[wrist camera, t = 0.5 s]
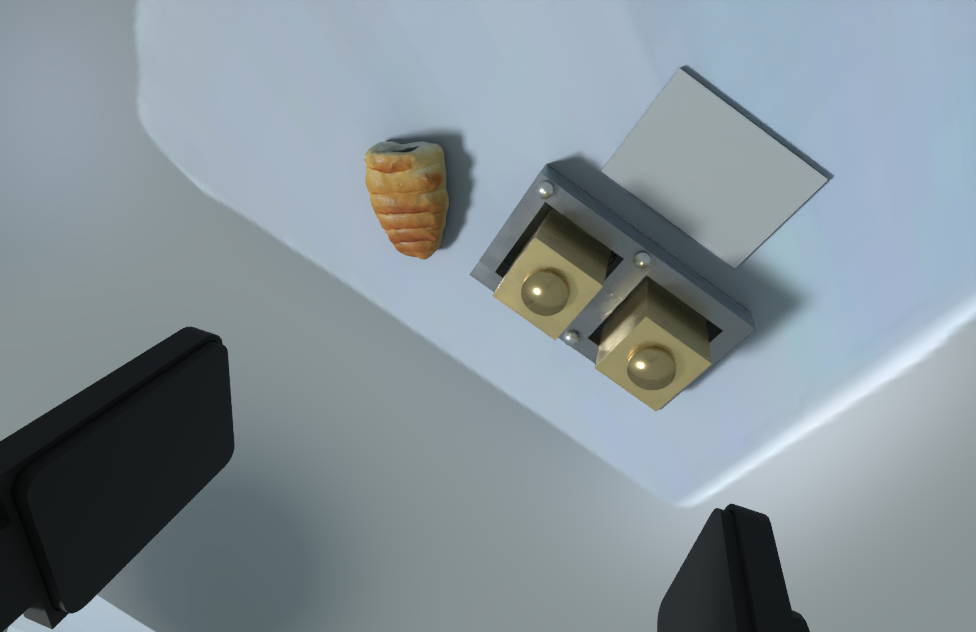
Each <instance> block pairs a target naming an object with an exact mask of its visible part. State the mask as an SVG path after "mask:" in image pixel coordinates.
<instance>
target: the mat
mask: <svg viewBox="0 0 976 632" xmlns="http://www.w3.org/2000/svg"><path fill="white" fill-rule="evenodd" d="M601 171H602V172H603V173H604V174H606V175H607V176H608V177H610V178H611V179H612V180H614V181H615V182H617V183H618V184H619V185H621V186H622V187H623V188H625V189H626V190H627V191H629V192H630V193H632V194H633V195H634V196H636V197H637V198H638V199H640V200H641V201H643V202H644V203H645V204H647V205H648V206H649V207H651V208H652V209H653V210H655V211H656V212H658V213H659V214H660V215H662V216H663V217H664V218H666V219H667V220H669V221H670V222H671V223H673V224H674V225H675V226H677V227H678V228H679V229H681V230H682V231H684V232H685V233H686V234H688V235H689V236H690V237H692V238H693V239H694V240H696V241H697V242H699V243H700V244H701V245H703V246H704V247H705V248H707V249H708V250H710V251H711V252H712V253H714V254H715V255H716V256H718V257H719V258H720V259H722V260H723V261H725V262H726V263H727V264H729V265H730V266H731V267H733V268H734V269H735V268H736V267H737V266H738V265H739V264H740V263H741V262H742V261H744V260H745V259H746V258H747V257H748V256H749V255H750V254H751V253H752V252H753V251H754V250H755V249H756V248H757V247H758V246H759V245H760V244H761V243H762V242H763V241H764V240H766V239H767V238H768V237H769V236H770V235H771V234H772V233H773V232H774V231H775V230H776V229H777V228H778V227H779V226H780V225H781V224H782V223H783V222H784V221H785V220H786V219H788V218H789V217H790V216H791V215H792V214H793V213H794V212H795V211H796V210H797V209H798V208H799V207H800V206H801V205H802V204H803V203H804V202H805V201H806V200H807V199H809V198H810V197H811V196H812V195H813V194H814V193H815V192H816V191H817V190H818V189H819V188H820V187H821V186H822V185H823V184H824V183H825V182H826V181H827V180H828V179H827V178H826V177H824V176H823V175H822V174H820V173H819V172H818V171H816V170H815V169H814V168H812V167H811V166H810V165H808V164H807V163H806V162H804V161H803V160H802V159H800V158H799V157H798V156H796V155H795V154H794V153H792V152H791V151H790V150H788V149H787V148H786V147H784V146H783V145H782V144H780V143H779V142H778V141H776V140H775V139H774V138H772V137H771V136H770V135H768V134H767V133H766V132H764V131H763V130H762V129H760V128H759V127H758V126H756V125H755V124H754V123H752V122H751V121H750V120H748V119H747V118H746V117H745V116H743V115H742V114H741V113H739V112H738V111H737V110H735V109H734V108H733V107H731V106H730V105H729V104H727V103H726V102H725V101H723V100H722V99H721V98H719V97H718V96H717V95H715V94H714V93H713V92H711V91H710V90H709V89H707V88H706V87H705V86H703V85H702V84H701V83H699V82H698V81H697V80H695V79H694V78H693V77H691V76H690V75H689V74H687V73H686V72H685V71H683V70H682V69H681V68H679V69H678V70H677V72H676V73H675V74H674V75H673V77H672V78H671V79H670V81H669V82H668V83H667V85H666V86H665V87H664V89H663V90H662V91H661V93H660V94H659V95H658V97H657V98H656V99H655V100H654V102H653V103H652V104H651V106H650V107H649V108H648V110H647V111H646V112H645V114H644V115H643V116H642V118H641V119H640V120H639V122H638V123H637V124H636V125H635V127H634V128H633V129H632V131H631V132H630V133H629V135H628V136H627V137H626V139H625V140H624V141H623V143H622V144H621V145H620V147H619V148H618V149H617V150H616V152H615V153H614V154H613V156H612V157H611V158H610V160H609V161H608V162H607V164H606V165H605V166H604V168H603V169H602V170H601Z"/></svg>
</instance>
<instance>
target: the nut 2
mask: <svg viewBox="0 0 976 632" xmlns="http://www.w3.org/2000/svg"><path fill="white" fill-rule="evenodd" d="M711 364H712V361H711V353H710V346H709V338H708V330H707V323H706V318H705V317H704V316H702V315H701V314H700V313H698V312H697V311H695V310H694V309H693V308H691V307H690V306H688V305H687V304H686V303H684V302H683V301H682V300H680V299H679V298H677V297H676V296H675V295H673V294H672V293H670V292H669V291H668V290H666V289H665V288H664V287H662V286H661V285H659V284H658V283H657V282H655V281H654V280H652V279H651V278H650V277H648V276H647V277H646V278H645V279H644V280H643V281H642V282H641V283H640V284H639V285H638V286H637V287H636V288H635V289H634V290H633V292H632V293H631V294H630V295H629V296H628V297H627V298H626V299H625V300H624V301H623V302H622V303H621V304H620V305H619V307H618V308H617V309H616V310H615V311H614V312H613V313H612V314H611V315H610V316H609V317H608V318H607V319H606V320H605V321H604V325H603V330H602V335H601V340H600V345H599V350H598V355H597V359H596V364H595V369H597V370H598V371H600V372H601V373H602V374H604V375H605V376H607V377H608V378H609V379H611V380H612V381H614V382H615V383H616V384H618V385H619V386H621V387H622V388H624V389H625V390H626V391H628V392H629V393H631V394H632V395H633V396H635V397H636V398H638V399H639V400H640V401H642V402H643V403H645V404H646V405H648V406H649V407H650V408H652V409H653V410H655V411H658V410H659V409H660V408H661V407H662V406H663V405H665V404H666V403H667V402H668V401H669V400H670V399H672V398H673V397H674V396H675V395H676V394H677V393H679V392H680V391H681V390H682V389H683V388H684V387H686V386H687V385H688V384H689V383H690V382H691V381H693V380H694V379H695V378H696V377H697V376H699V375H700V374H701V373H702V372H703V371H704V370H706V369H707V368H708V367H709V366H710V365H711Z"/></svg>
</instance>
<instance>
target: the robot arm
mask: <svg viewBox="0 0 976 632" xmlns="http://www.w3.org/2000/svg"><path fill="white" fill-rule="evenodd" d="M233 452H234V433H233V420H232V405H231V391H230V377H229V363H228V351H227V348H226V347H225V346H224V345H223V344H222V340H221V338H220V337H219V336H218V335H215V334H212V333H209V332H206V331H203V330H199V329H197V328H194V327H186V328H183V329H181V330H179V331H178V332H177V333H175V334H173V335H171V336H170V337H168V338H167V339H165V340H163V341H162V342H160V343H158V344H157V345H155V346H154V347H152V348H150V349H149V350H147V351H146V352H144V353H142V354H141V355H139V356H138V357H136V358H134V359H133V360H131V361H130V362H128V363H126V364H125V365H123V366H122V367H120V368H118V369H116V370H115V371H113V372H112V373H110V374H108V375H107V376H105V377H104V378H102V379H100V380H99V381H97V382H95V383H94V384H92V385H91V386H89V387H87V388H86V389H84V390H83V391H81V392H79V393H78V394H76V395H75V396H73V397H71V398H70V399H68V400H66V401H65V402H63V403H62V404H60V405H58V406H57V407H55V408H53V409H52V410H50V411H49V412H47V413H45V414H44V415H42V416H41V417H39V418H37V419H36V420H34V421H32V422H31V423H29V424H28V425H26V426H24V427H23V428H21V429H20V430H18V431H17V432H15V433H13V434H12V435H10V436H8V437H7V438H5V439H3V440H2V441H0V632H7V629H8V627H9V626H10V625H11V624H12V623H13V622H14V621H15V620H16V619H17V618H18V617H19V616H21V615H22V614H24V616H25V618H28V619H30V620H32V621H34V622H37V623H39V624H41V625H44V626H46V627H48V628H50V629H53V628H54V627H55V626H56V625H57V624H58V623H59V622H60V621H61V620H62V619H63V618H65V617H66V616H67V615H68V614H69V613H75V612H77V611H79V610H81V609H82V608H83V607H84V606H86V605H87V604H88V603H89V602H90V601H91V600H92V599H93V598H94V597H95V596H96V595H97V594H98V593H99V592H100V591H101V590H102V589H103V588H104V587H105V586H106V585H107V584H108V583H109V582H110V581H111V580H112V579H113V578H114V577H115V576H116V575H117V574H118V573H119V572H120V571H121V570H122V568H124V567H125V566H126V565H127V564H128V563H129V562H130V561H131V560H132V559H133V558H134V557H135V556H136V555H137V554H138V553H139V552H140V551H141V550H142V549H143V548H144V547H145V546H146V545H147V544H148V543H149V542H150V541H151V540H152V539H153V538H154V537H155V536H156V535H157V534H158V533H159V532H160V531H161V530H162V529H163V528H164V527H165V526H166V525H167V524H168V522H170V521H171V520H172V519H173V518H174V517H175V516H176V515H177V514H178V513H179V512H180V511H181V510H182V509H183V508H184V507H185V506H186V505H187V503H189V502H190V501H191V500H192V499H193V498H194V497H195V496H196V495H197V494H198V492H200V491H201V490H202V489H203V488H204V487H205V486H206V485H207V484H208V482H210V481H211V480H212V479H213V478H214V477H215V476H216V475H217V474H218V473H219V472H220V471H221V470H222V469H223V468H224V467H225V466H226V464H227V463H228V462H229V460H230V459H231V457H232V455H233ZM657 624H658V625H657V630H658V631H657V632H810V631H809V628H808V626H807V623H806V621H805V619H804V618H803V617H802V615H801V614H799V613H797V612H795V611H793V610H791V605H790V602H789V597H788V594H787V589H786V585H785V581H784V577H783V572H782V568H781V564H780V560H779V556H778V552H777V547H776V543H775V539H774V535H773V531H772V527H771V523H770V520H769V518H768V517H767V516H766V515H765V514H762V513H759V512H755V511H753V510H750V509H747V508H744V507H741V506H737V505H734V504H729V505H728V506H727V507H726V508H725V510H722V509H718V508H716V509H714V511H713V512H712V513H711V515H710V517H709V519H708V520H707V522H706V524H705V526H704V527H703V529H702V531H701V533H700V535H699V536H698V538H697V540H696V542H695V543H694V545H693V547H692V549H691V550H690V552H689V554H688V556H687V558H686V559H685V561H684V563H683V565H682V566H681V568H680V570H679V572H678V573H677V575H676V577H675V579H674V581H673V582H672V584H671V586H670V588H669V589H668V591H667V593H666V595H665V596H664V598H663V600H662V602H661V605H660V609H659V613H658V623H657Z"/></svg>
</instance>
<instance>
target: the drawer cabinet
mask: <svg viewBox="0 0 976 632" xmlns="http://www.w3.org/2000/svg"><path fill="white" fill-rule="evenodd" d="M545 202H546V203H547V204H549V205H550V206H551V207H553V208H554V209H556V210H557V211H558V212H560V213H561V214H563V215H564V216H565V217H567V218H568V219H569V220H571V221H572V222H574V223H575V224H576V225H578V226H579V227H581V228H582V229H583V230H585V231H586V232H587V233H589V234H590V235H592V236H593V237H594V238H596V239H597V240H599V241H600V242H601V243H603V244H604V245H605V246H607V247H608V248H610V249H611V250H612V251H614V252H615V253H617V254H618V256H617V258H616V259H615V260H614V261H613V262H612V263H611V265H610V266H609V267H608V268H607V272H606V277H605V281H604V285H603V287H602V288H601V289H600V291H599V292H598V293H597V294H596V295H595V296H594V297H593V298H592V300H591V301H590V302H589V303H588V304H587V305H586V306H585V307H584V309H583V310H582V311H581V312H580V313H579V314H578V315H577V316H576V318H575V319H574V320H573V321H572V322H571V323H570V324H569V325H568V327H567V328H566V329H565V330H564V331H563V332H562V333H561V334H560V336H559V337H558V338H560V339H561V340H563V341H564V342H565V344H567V345H569V346H571V347H572V348H574V349H575V350H577V351H578V352H579V353H581V354H582V355H584V356H585V357H587V358H588V359H589V360H591V361H592V362H594V363H595V364H596V359H597V355H598V350H599V345H600V340H601V335H602V330H600V329H599V328H597V327H598V326H599V325H600V324H601V323H602V322H603V321H604V320H605V319H606V318H607V317H608V316H609V315H610V313H611V312H612V311H613V310H614V309H615V308H616V307H617V306H618V305H619V304H620V303H621V302H622V301H623V300H624V298H625V297H626V296H627V295H628V294H629V293H630V292H631V291H632V290H633V289H634V288H635V287H636V286H637V285H638V283H639V282H640V281H641V280H642V279H643V278H644V277H645V276H646V275H647V276H648V277H650V278H651V279H652V280H654V281H655V282H657V283H658V284H659V285H661V286H662V287H664V288H665V289H666V290H668V291H669V292H670V293H672V294H673V295H675V296H676V297H677V298H679V299H680V300H682V301H683V302H684V303H686V304H687V305H688V306H690V307H691V308H693V309H694V310H695V311H697V312H698V313H700V314H701V315H702V316H704V317H705V318H706V319H708V320H709V321H711V322H712V323H711V324H710V325H709V326H708V327H707V330H708V338H709V346H710V353H711V361H712V364H711V365H710V366H709V367H708V368H707V369H706V370H704V371H703V372H702V373H701V374H700V375H699V376H697V377H696V378H695V379H694V380H693V381H691V382H690V383H689V384H688V385H687V386H686V387H684V388H683V389H682V390H681V391H680V392H679V393H677V394H676V395H675V396H674V397H673V398H672V399H670V400H669V401H668V402H667V403H666V404H665V405H663V406H662V407H661V408H660V410H661V409H662V408H663V407H665V406H666V405H667V404H668V403H669V402H670V401H672V400H673V399H674V398H675V397H676V396H677V395H679V394H680V393H681V392H682V391H683V390H685V389H686V388H687V387H688V386H689V385H690V384H692V383H693V382H694V381H695V380H696V379H697V378H699V377H700V376H701V375H702V374H703V373H704V372H706V371H707V370H708V369H709V368H710V367H712V366H713V365H714V364H715V363H716V362H717V361H719V360H720V359H721V358H722V357H723V356H724V355H726V354H727V353H728V352H729V351H730V350H732V349H733V348H734V347H735V346H736V345H737V344H739V343H740V342H741V341H742V340H743V339H744V338H746V337H747V336H748V335H749V334H750V333H751V332H753V331H754V330H755V325H754V322H753V318H752V315H751V312H749V311H748V310H746V309H745V308H744V307H742V306H741V305H740V304H738V303H737V302H735V301H734V300H733V299H731V298H730V297H729V296H727V295H726V294H724V293H723V292H722V291H720V290H719V289H718V288H716V287H715V286H713V285H712V284H711V283H709V282H708V281H707V280H705V279H704V278H702V277H701V276H700V275H698V274H697V273H696V272H694V271H693V270H691V269H690V268H689V267H687V266H686V265H685V264H683V263H682V262H680V261H679V260H678V259H676V258H675V257H674V256H672V255H671V254H669V253H668V252H667V251H665V250H664V249H663V248H661V247H660V246H658V245H657V244H656V243H654V242H653V241H652V240H650V239H649V238H647V237H646V236H645V235H643V234H642V233H641V232H639V231H638V230H636V229H635V228H634V227H632V226H631V225H630V224H628V223H627V222H625V221H624V220H623V219H621V218H620V217H619V216H617V215H616V214H614V213H613V212H612V211H610V210H609V209H608V208H606V207H605V206H603V205H602V204H601V203H599V202H598V201H597V200H595V199H594V198H592V197H591V196H590V195H588V194H587V193H586V192H584V191H583V190H581V189H580V188H579V187H577V186H576V185H575V184H573V183H572V182H570V181H569V180H568V179H566V178H565V177H564V176H562V175H561V174H559V173H558V172H557V171H555V170H554V169H553V168H551V167H550V166H548V165H547V164H546V165H545V167H544V168H543V169H542V170H541V172H540V173H539V174H538V176H537V177H536V179H535V180H534V182H533V183H532V185H531V186H530V187H529V189H528V190H527V192H526V193H525V195H524V196H523V198H522V199H521V201H520V202H519V204H518V205H517V206H516V208H515V209H514V211H513V212H512V214H511V215H510V217H509V218H508V220H507V221H506V222H505V224H504V225H503V227H502V228H501V230H500V231H499V233H498V234H497V236H496V237H495V238H494V240H493V241H492V243H491V244H490V246H489V247H488V249H487V250H486V252H485V253H484V254H483V256H482V257H481V259H480V260H479V262H478V263H477V265H476V266H475V268H474V269H473V271H472V272H471V273H470V275H471V276H472V277H474V278H475V279H476V280H478V281H479V282H481V283H482V284H483V285H485V286H486V287H488V288H489V289H490V290H492V291H493V292H495V291H496V289H497V287H498V286H499V284H500V282H501V281H502V279H503V278H504V276H505V274H506V273H507V271H508V269H509V268H510V265H509V264H508V263H506V262H505V261H503V260H504V258H505V257H506V256H507V254H508V253H509V252H510V250H511V249H512V247H513V246H514V245H515V243H516V242H517V240H518V239H519V238H520V236H521V235H522V233H523V232H524V231H525V229H526V228H527V227H528V225H529V224H530V222H531V221H532V220H533V218H534V217H535V215H536V214H537V213H538V211H539V210H540V208H541V207H542V206H543V204H544V203H545Z"/></svg>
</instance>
